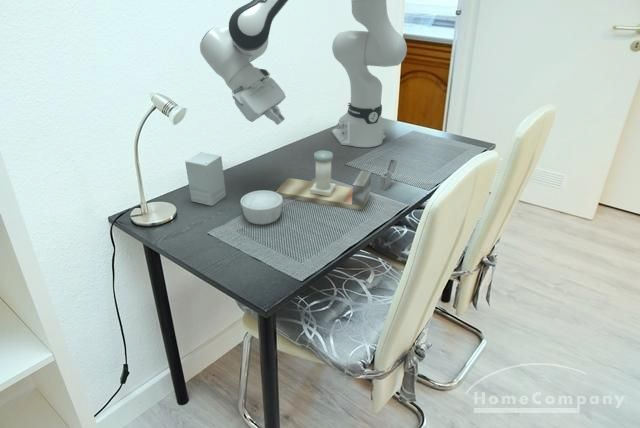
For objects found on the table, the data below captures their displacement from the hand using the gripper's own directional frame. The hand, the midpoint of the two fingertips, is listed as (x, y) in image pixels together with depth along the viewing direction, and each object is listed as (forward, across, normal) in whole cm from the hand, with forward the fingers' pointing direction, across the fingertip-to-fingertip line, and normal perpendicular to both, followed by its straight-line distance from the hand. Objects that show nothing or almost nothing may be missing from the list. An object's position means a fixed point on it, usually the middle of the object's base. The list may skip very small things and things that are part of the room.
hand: (281, 122), depth 125 cm
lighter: (+36, +13, -6) cm, 38 cm away
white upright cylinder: (+22, 0, +5) cm, 23 cm away
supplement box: (+2, -12, +28) cm, 31 cm away
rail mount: (+24, 0, +6) cm, 25 cm away
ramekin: (+16, -16, +15) cm, 27 cm away
